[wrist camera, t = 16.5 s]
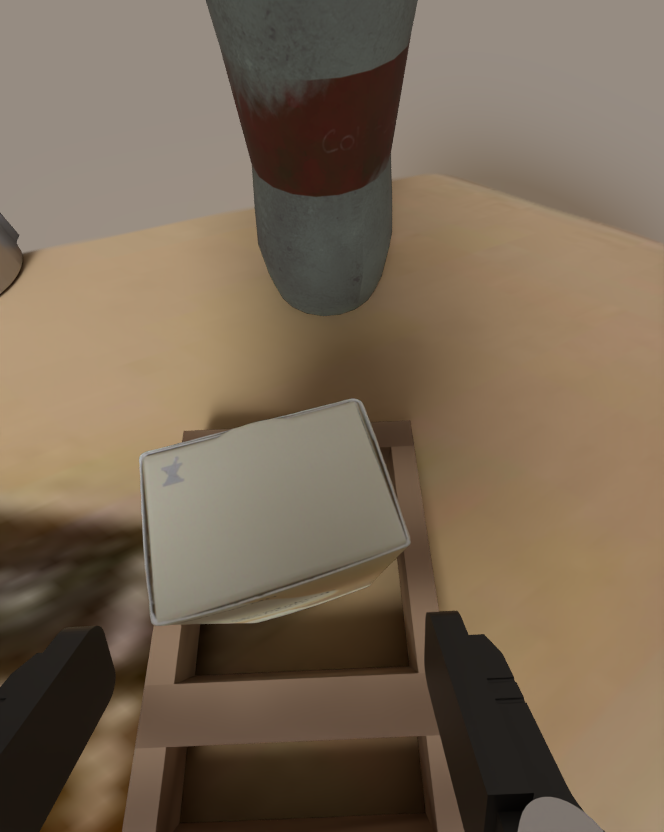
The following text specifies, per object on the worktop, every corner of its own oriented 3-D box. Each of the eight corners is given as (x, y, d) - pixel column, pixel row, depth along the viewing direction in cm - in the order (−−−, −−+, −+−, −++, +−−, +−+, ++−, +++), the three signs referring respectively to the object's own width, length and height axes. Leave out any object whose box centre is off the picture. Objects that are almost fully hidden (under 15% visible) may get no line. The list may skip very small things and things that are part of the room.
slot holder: (199, 448, 23) (183, 431, 21) (403, 439, 23) (410, 420, 21) (142, 878, 15) (107, 924, 13) (462, 864, 15) (483, 908, 13)
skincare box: (253, 626, 19) (130, 641, 8) (238, 538, 21) (122, 453, 10) (377, 585, 19) (421, 548, 9) (351, 504, 21) (360, 389, 11)
